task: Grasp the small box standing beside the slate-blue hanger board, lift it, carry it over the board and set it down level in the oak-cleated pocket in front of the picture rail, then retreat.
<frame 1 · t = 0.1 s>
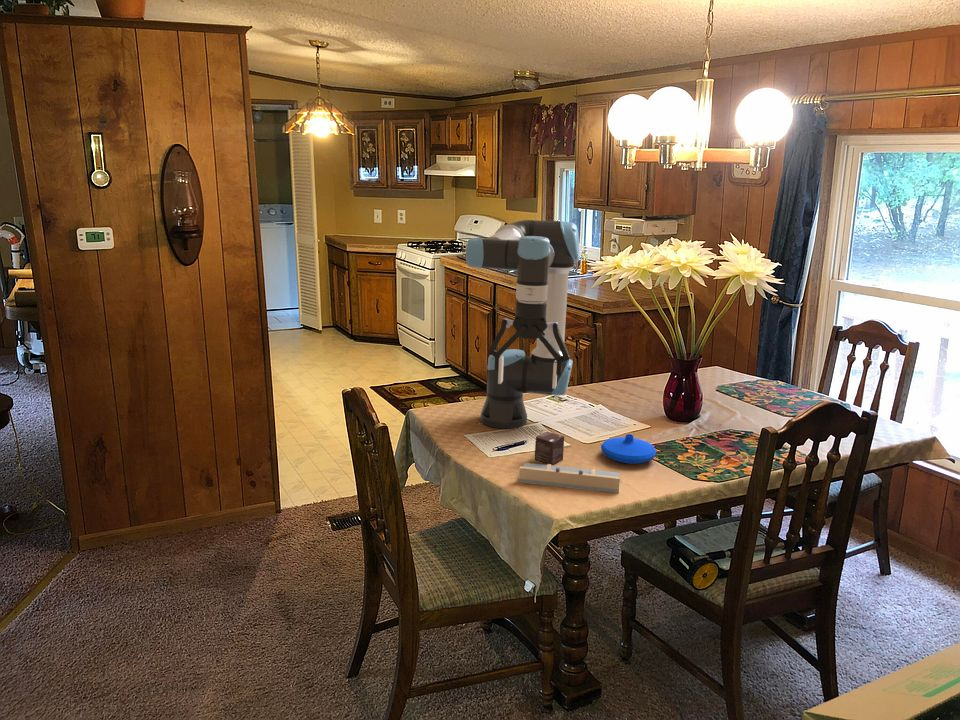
hand: (527, 384, 188), 28 cm above the table, fingers open, 13 cm apart
box: (548, 461, 213), on the table
hanger board: (569, 479, 201), on the table
blue knobbed lid: (627, 459, 217), on the table
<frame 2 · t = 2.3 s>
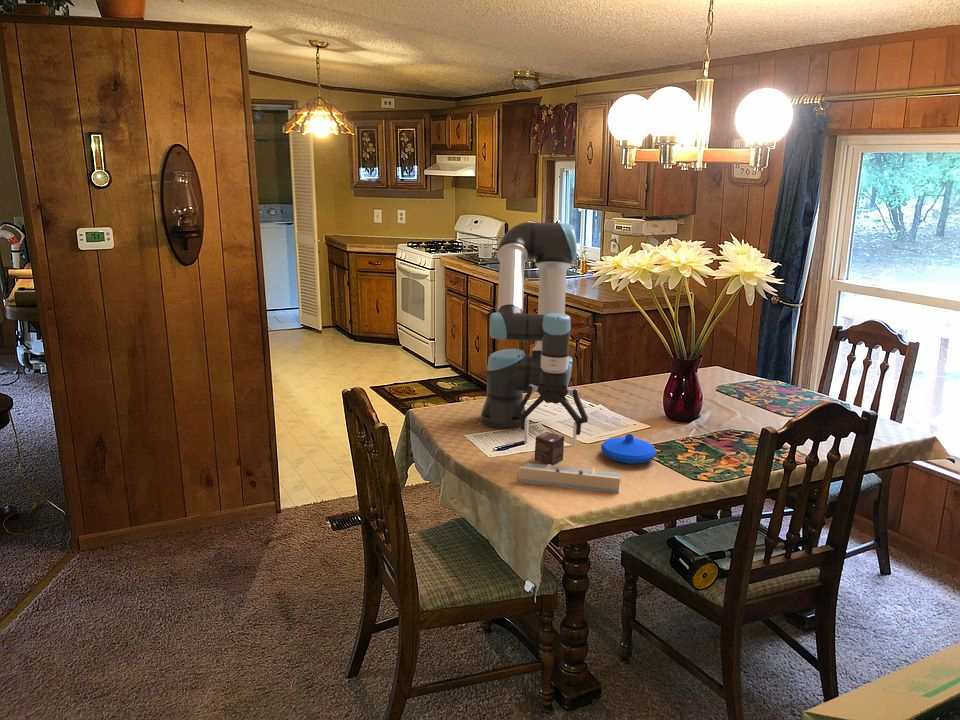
hand: (549, 443, 211), 5 cm above the table, fingers open, 13 cm apart
nothing on the table moved.
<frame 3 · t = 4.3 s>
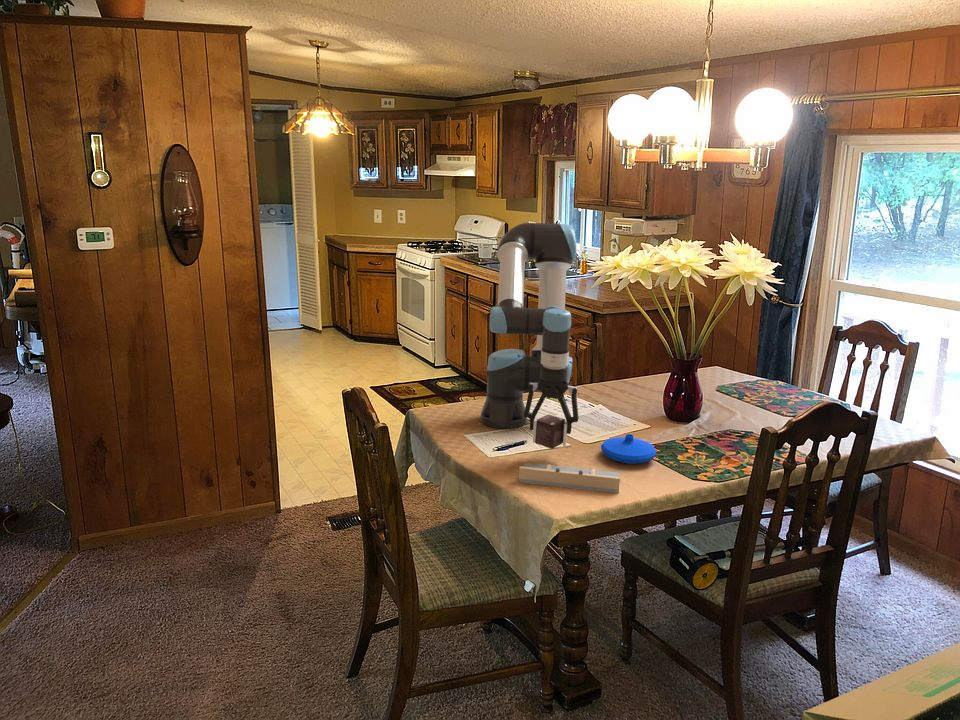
hand: (549, 442, 212), 5 cm above the table, fingers closed on box, 8 cm apart
box: (549, 444, 213), point 5 cm above the table, touching gripper
everything else where it was.
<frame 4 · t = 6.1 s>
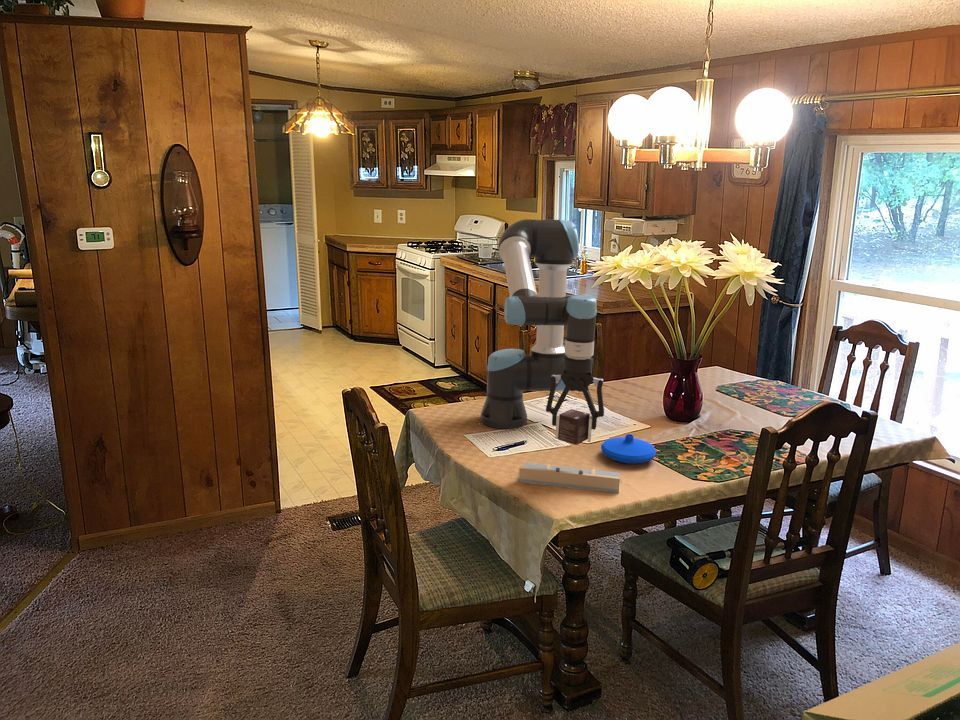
hand: (573, 438, 200), 11 cm above the table, fingers closed on box, 8 cm apart
box: (573, 440, 200), point 10 cm above the table, touching gripper
everything else where it was.
when the fingers open (2 cm above the table, at t = 7.9 s): box drops 1 cm, resting on hanger board.
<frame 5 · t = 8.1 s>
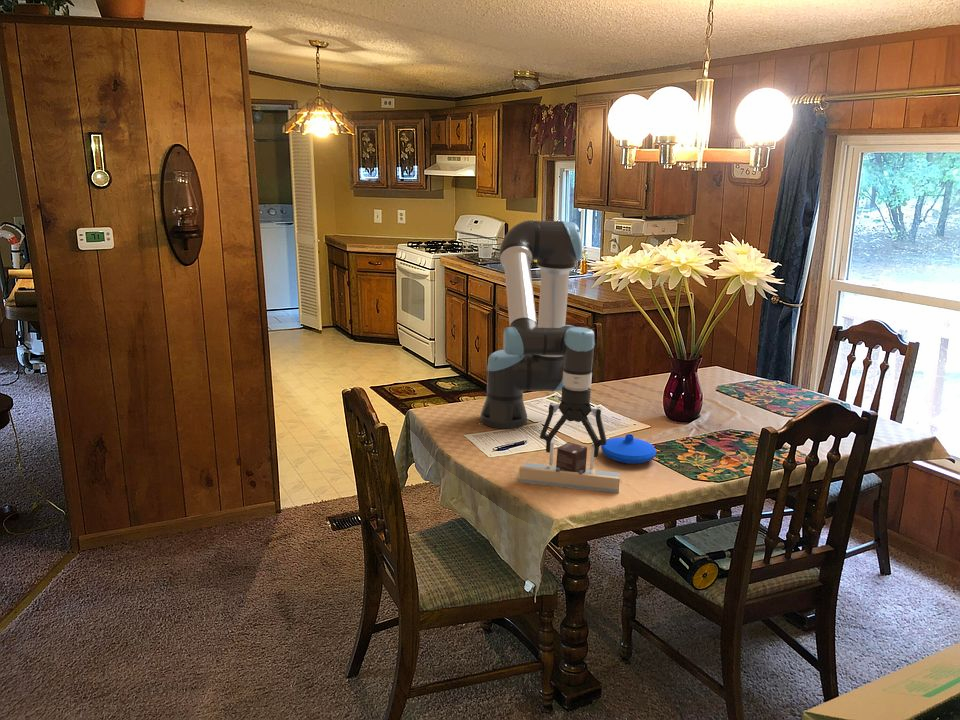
hand: (571, 465, 202), 3 cm above the table, fingers open, 10 cm apart
box: (570, 473, 203), point 1 cm above the table, touching hanger board
everything else where it was.
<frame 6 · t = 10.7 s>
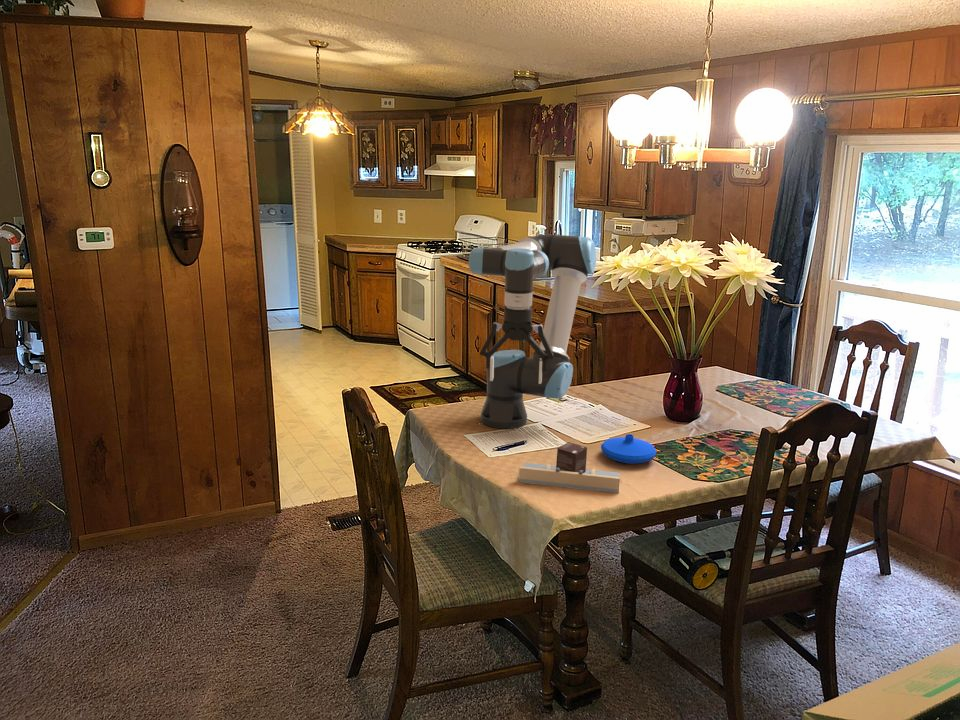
hand: (515, 381, 209), 22 cm above the table, fingers open, 13 cm apart
nothing on the table moved.
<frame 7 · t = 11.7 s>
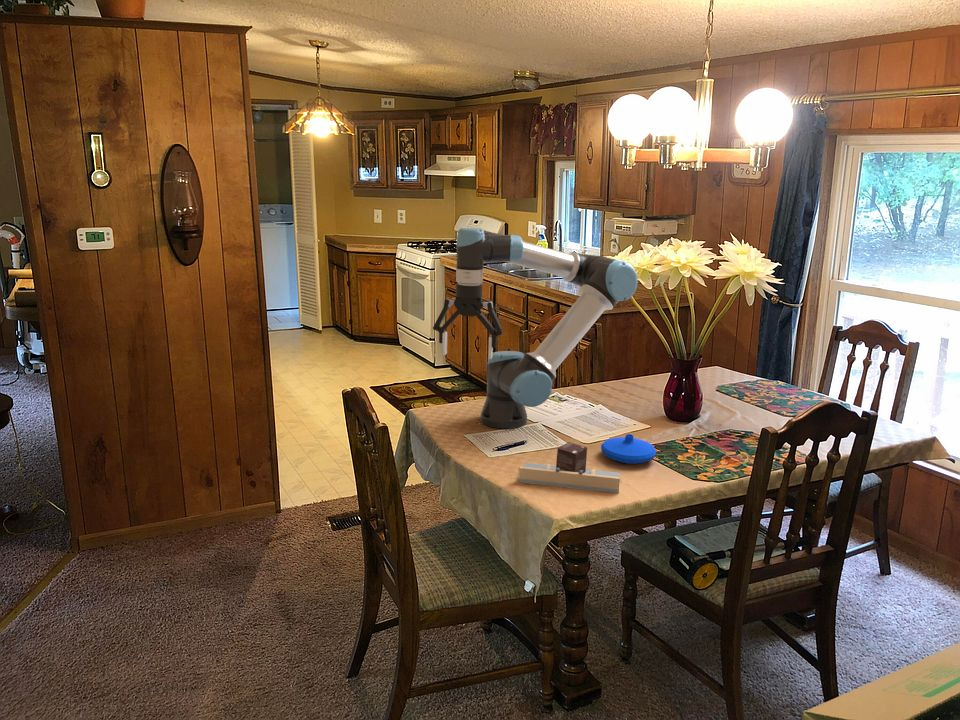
hand: (467, 356, 218), 27 cm above the table, fingers open, 13 cm apart
nothing on the table moved.
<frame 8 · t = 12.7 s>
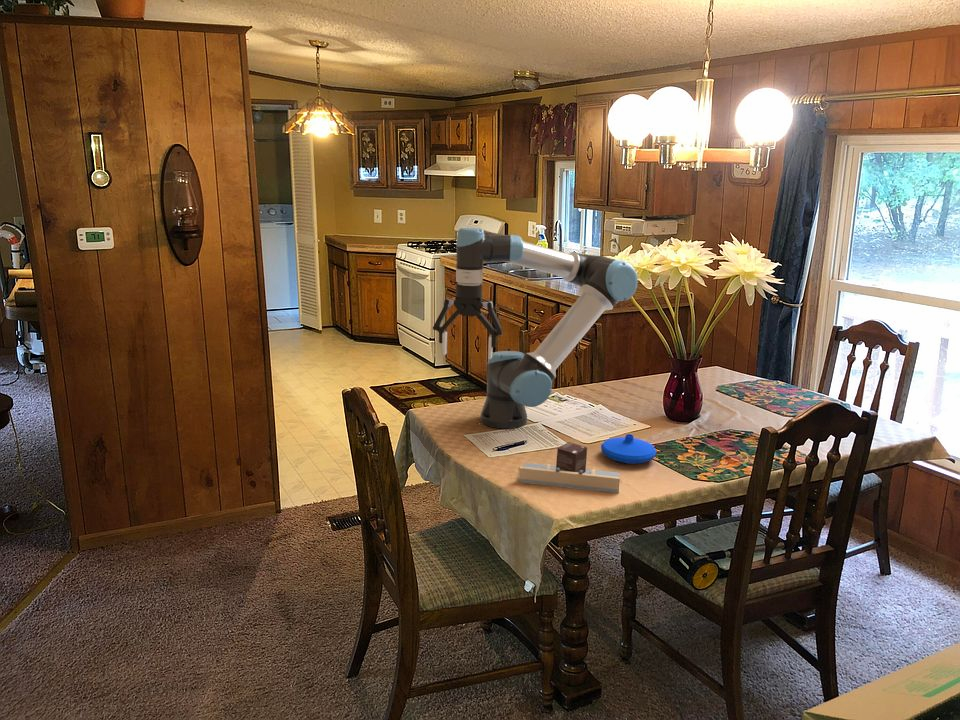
hand: (467, 356, 218), 27 cm above the table, fingers open, 13 cm apart
nothing on the table moved.
at the end: box inside the target area on the hanger board (0.5 cm from its centre), point 0.8 cm above the hanger board's base; box tilted 0°; the gripper is holding nothing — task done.
